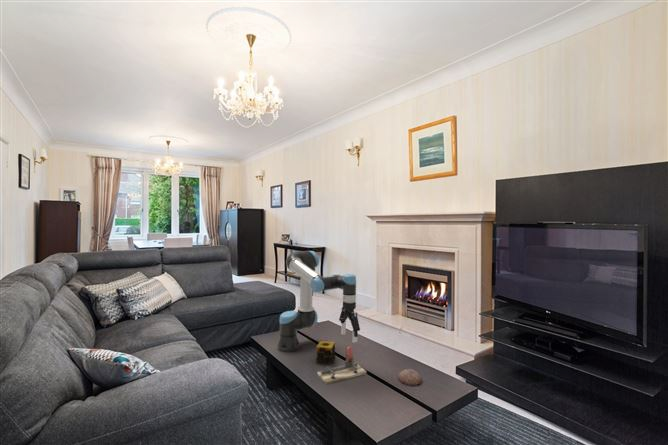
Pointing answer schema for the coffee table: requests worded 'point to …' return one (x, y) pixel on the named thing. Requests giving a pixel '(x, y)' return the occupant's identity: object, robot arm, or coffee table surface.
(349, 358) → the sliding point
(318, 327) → the coffee table surface
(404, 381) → the decorative stone
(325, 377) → the board
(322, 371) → the rail
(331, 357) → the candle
